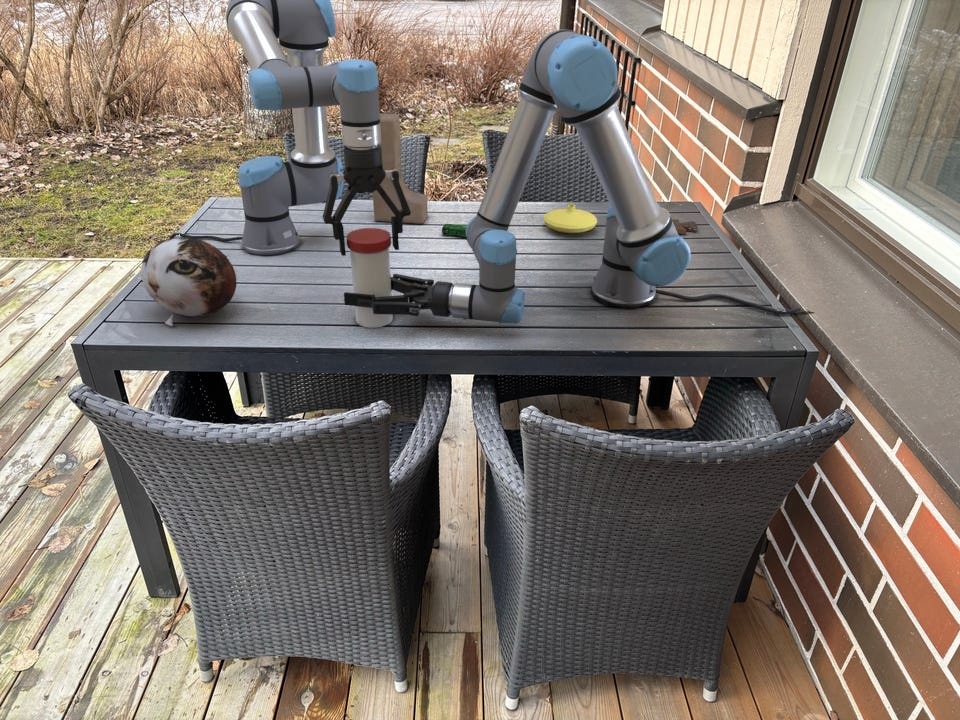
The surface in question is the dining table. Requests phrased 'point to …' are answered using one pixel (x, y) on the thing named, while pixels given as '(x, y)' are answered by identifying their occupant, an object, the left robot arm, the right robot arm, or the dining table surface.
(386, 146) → the decorative block
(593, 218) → the yellow flat disc
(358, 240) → the lid
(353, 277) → the jar
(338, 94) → the left robot arm
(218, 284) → the plush toy
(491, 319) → the right robot arm
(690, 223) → the brown lumpy piece
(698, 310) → the dining table surface
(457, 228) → the handgun
